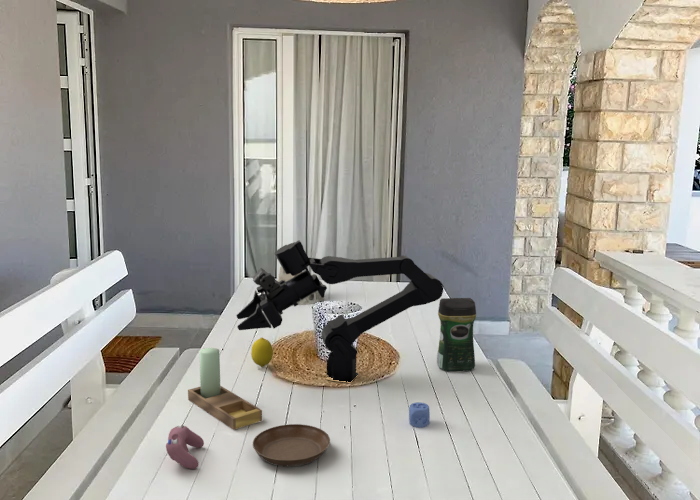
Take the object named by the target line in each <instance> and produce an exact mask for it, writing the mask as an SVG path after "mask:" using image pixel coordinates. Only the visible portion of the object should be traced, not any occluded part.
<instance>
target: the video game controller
mask: <svg viewBox="0 0 700 500" xmlns="http://www.w3.org/2000/svg"><path fill="white" fill-rule="evenodd" d="M204 444H205V442H204V439H203V438H202V437H201V436H200V435H198V434H197V433H195V432H194V431H192V430H191V429H190V428H189V427H188V426H186V425H184V424H183V423H182V424H181V425H176V426H175V427H173V428H171V429H170V431H169V433H168V438H167V443H166V444H165V449H166V452H167V455H168V456H169V458H170V459H171V460H172V461H175V463H178V464H179V465H180V466H182V467H184V468H186V469H189V470H196V469H197V468H198V467H199V461H198V459H197V457H195V456H194V455H192V454H191V453H189V447H192V448H196V449H198V448H199V449H201V448H203V447H204Z"/></svg>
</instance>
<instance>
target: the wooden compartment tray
mask: <svg viewBox="0 0 700 500" xmlns="http://www.w3.org/2000/svg"><path fill="white" fill-rule="evenodd" d="M220 388H221V395H217V396H213V397H210V398H206V399H205V398H203V397H202V396H201V387H200V386H198V387H194V388H190V389H187V400H188V401H190V402H191V403H192V404H194V405H196V406H197V407H199V408H200V409H201V410H203V411H204V412H206V413H207V414H208V415H210V416H212V417H213V418H215V419H216V420H218V421H220V422H221V423H222V424H224V425H225V426H227V427H229V428H230V429H231V430H233V431H234V430H237V429H241V428H244V427H247V426H251V425H253V424H257V423H259V422H262V421H263V410H262V409H261V408H259V407H257V406H256V405H254V404H252V403H251V402H249V401H247V400H245V399H244V398H242V397H241V396H238V395H237V394H236V393H233V392H232V391H231V390H228V389H227V388H225V387H224V386H222V385H220Z"/></svg>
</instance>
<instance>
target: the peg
mask: <svg viewBox="0 0 700 500" xmlns="http://www.w3.org/2000/svg"><path fill="white" fill-rule="evenodd" d="M198 353H199V354H198V355H199V357H198V358H199V381H200V382H199V383H200V384H199V385H200V386H199V387H201V396H202V397H203V398H205V399H206V398H210V397H213V396H217V395H221V388H220V386H221V361H220V360H221V359H220V355H221V354H220V349H219V348H216V347H206V348H202V349H200V350H199V351H198Z"/></svg>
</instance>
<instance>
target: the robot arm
mask: <svg viewBox="0 0 700 500" xmlns="http://www.w3.org/2000/svg"><path fill="white" fill-rule="evenodd" d="M273 253H274V256H275V258H276V259H277V261H278V263H279V264H280V267H282V268H283V270H284V271H285V273H286V274H291V275H292V276H294V275H297V274H298V275H297V276H295V277H293V278H291V279H290V280H288V281H285V280H281V281H279V282H278V280H277V279H276V277H275V276H274V275H273V274H271V272H269V273H268V271H266V269H264V268H262V267H260V268H259V269H258V270H257V272H255V274H254V275H253V276H252V281H253V283H255V284H256V285H257V287H256V289H255V290H254V294H253V297H252V300H251V301H249V303H248V304H247V305H246V306H245V307H243V309H242V310H240V311H239V312H238V313H237V314H236V315H235V316H236V318H237V319H238V320H241V319H244V320H243V321H241V322H240V323H239V324H238V325H237V329H238V330H239V331H244V330H245V331H247V330H256V329H276V328H278V327H280V326H281V325H282V322H283V317H282V315H283V314H284V312H283V311H285V310H287V309H289V308H290V307H292V306H293V305H294V306H293V307H297V306H299V305H298V303H297V302H299V301H301V300H303V299H304V298H306V297H308V296H310V295H311V294H313V293H315V292H317V291H318V292H319V294H320V296H321V297H322V298H324V299H325V294H326V290H327V289H328V287H327V285H326V284H328V285H336V284H340V283H345V282H348V281H350V280H352V279H356V278H360V277H362V278H363V277H376V276H386V275H387V276H388V275H391V276H392V275H402V274H403V275H404V276H406V278H407V279H408V280H409V282H408V284H407V285H406V286H405V287H404V288H403V289H402V290H401V291H399V292H397V293H396V294H394V295H392V296H390V297H388V298H387V299H384V300H382V301H381V302H378V303H376V304H375V305H373V306H371V307H369V308H368V309H366V310H364V311H362V312H361V313H358V314H357V315H354V316H353V317H348V318H346V317H344V315H343V314H339V315H338V316H337V317H335V318H334V319H332V320H328V321H327V324H326V325H324V326H323V328H322V331H321V339H322V341H323V343H324V346H325V347H326V349H327V350H328V351H330V353H329V354H328V359H326V376H327V375H328V376H329V377H331V378H333V380H339V381H346V382H347V381H348V382H351V381H352V380H353V379H354V378H355V377H356V376H357V375H358V376H359V372H357V354H358V350H357V348H356V346H355V345H354V343H355V341H357V339H358V338H359V337H360V336H361V335H362V334H364V333H365V332H367V331H369V330H371V329H372V328H375V327H376V326H379V325H380V324H381V323H383V322H386V321H387V320H388V321H389V320H390V319H392V318H393V317H396V316H397V315H398V314H401V313H402V312H404V311H406V310H408V309H410V308H412V307H416V306H422V305H427V304H430V303H432V302H436V301H439V299H440V298H441V297H442V296H443V293H444V285H443V283H442V282H441V281H440V280H439V279H438V278H436V277H435V276H434V275H432V274H431V273H427V272H425V271H424V270H422V269H421V268H420V267H419V266H418V265H417V264H416V263H415V262H414V260H412V259H411V258H410V257H409V256H407V255H400V256H392V257H378V258H377V257H376V258H374V257H373V258H362V259H361V258H360V259H354V258H353V259H351V258H345V257H341V256H330V255H328V256H327V255H326V256H323V257H322V258H316V257H309V256H308V254H307V252H306V251H305V249H304V245H303V244H302V241H301V240H296V241H294V242H292V243H288V244H285V245H283V246H281V247H280V248H278V249H277V250H276V251H275V252H273ZM308 267H310V269H311V270H312V272H313V274H316V275H312V274H311V272H310V270H309V268H308ZM301 272H302V273H301ZM299 273H300V274H299ZM318 276H319V277H320V279H321V280H322V281H321V280H320V279H319V278H318ZM320 281H321V282H323V281H324V283H326V284H323V283H322V284H323V285H322V284H321V282H320ZM328 376H327V377H328ZM358 376H357V377H358ZM357 377H356V378H357ZM356 378H355V379H356ZM355 379H354V380H355ZM354 380H353V381H354ZM353 381H352V382H353Z"/></svg>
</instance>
